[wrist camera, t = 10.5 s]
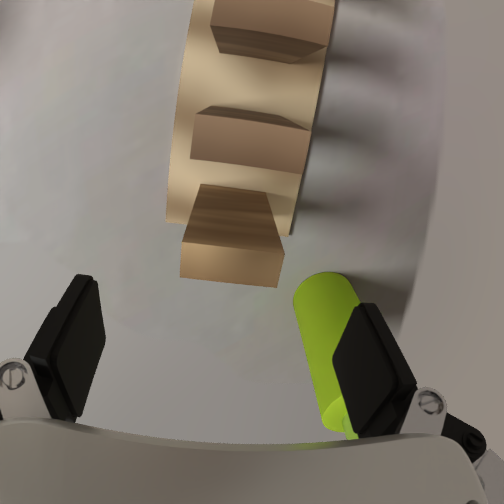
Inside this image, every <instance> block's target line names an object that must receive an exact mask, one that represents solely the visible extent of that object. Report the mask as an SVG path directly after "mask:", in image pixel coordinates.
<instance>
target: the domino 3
mask: <svg viewBox="0 0 504 504" xmlns="http://www.w3.org/2000/svg"><path fill="white" fill-rule="evenodd" d="M284 255H285V253H284V250H283V247H282V243H281V240H280V237H279V233H278V230H277V227H276V224H275V220H274V217H273V214H272V211H271V208H270V204H269V201H268V198H267V195H266V192H261V191H254V190H246V189H239V188H231V187H223V186H215V185H207V184H200V187H199V190H198V193H197V196H196V199H195V202H194V205H193V208H192V211H191V215H190V218H189V221H188V224H187V227H186V230H185V234H184V237H183V240H182V249H181V265H180V277H182V278H191V279H199V280H208V281H217V282H226V283H235V284H244V285H254V286H264V287H274V288H277V285H278V280H279V276H280V272H281V268H282V264H283V259H284Z"/></svg>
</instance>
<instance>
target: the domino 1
mask: <svg viewBox="0 0 504 504" xmlns="http://www.w3.org/2000/svg"><path fill="white" fill-rule="evenodd" d="M334 9H335V7H333V6H329V5H325V4H322V3H318V2H314V1H310V0H215V2H214V7H213V12H212V17H211V22H210V27H211V30H212V33H213V36H214V39H215V41H216V44H217V47H218V50H219V53H222V54H231V55H238V56H245V57H252V58H259V59H265V60H270V61H276V62H281V63H286V64H291V63H293V62H295V61H297V60H299V59H301V58H303V57H305V56H307V55H309V54H312V53H314V52H316V51H318V50H320V49H323V48H325V47H327V46H328V44H329V38H330V32H331V26H332V21H333V15H334Z"/></svg>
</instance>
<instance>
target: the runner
mask: <svg viewBox="0 0 504 504" xmlns="http://www.w3.org/2000/svg"><path fill="white" fill-rule="evenodd" d="M310 1H314V2H318V3H322V4H325V5H329V6H333V7H334V4H335V0H310ZM214 2H215V0H194V4H193V9H192V14H191V19H190V24H189V29H188V35H187V40H186V46H185V52H184V58H183V64H182V70H181V77H180V83H179V90H178V97H177V105H176V113H175V121H174V129H173V138H172V148H171V158H170V169H169V180H168V193H167V208H166V222H170V223H179V224H188V221H189V218H190V215H191V211H192V208H193V205H194V202H195V199H196V196H197V193H198V190H199V187H200V184H207V185H215V186H223V187H231V188H239V189H246V190H254V191H261V192H266V195H267V198H268V201H269V204H270V208H271V211H272V214H273V217H274V220H275V224H276V227H277V230H278V233H279V236H285V237H288V235H289V231H290V227H291V222H292V218H293V213H294V209H295V204H296V200H297V195H298V191H299V186H300V181H301V177H302V175H301V174H295V173H289V172H283V171H276V170H270V169H263V168H257V167H250V166H243V165H235V164H228V163H220V162H212V161H203V160H194V159H190V152H191V144H192V135H193V128H194V120H195V114H196V113H198V112H200V111H202V110H203V109H205V108H207V107H209V106H220V107H228V108H236V109H243V110H250V111H256V112H262V113H268V114H274V115H280V116H282V117H284V118H286V119H288V120H290V121H292V122H294V123H296V124H298V125H300V126H302V127H304V128H306V129H307V130H309V131H311V129H312V124H313V119H314V114H315V109H316V104H317V99H318V93H319V88H320V83H321V78H322V72H323V67H324V62H325V56H326V51H327V47H325V48H323V49H320V50H318V51H316V52H314V53H312V54H309V55H307V56H305V57H303V58H301V59H299V60H297V61H295V62H293V63H291V64H286V63H281V62H276V61H270V60H265V59H259V58H252V57H245V56H238V55H231V54H222V53H219V50H218V47H217V44H216V41H215V39H214V36H213V33H212V30H211V27H210V22H211V17H212V12H213V7H214Z"/></svg>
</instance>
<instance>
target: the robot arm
mask: <svg viewBox="0 0 504 504" xmlns="http://www.w3.org/2000/svg"><path fill="white" fill-rule="evenodd" d="M105 339H106V335H105V329H104V324H103V317H102V311H101V304H100V297H99V290H98V283H97V281H95V280H93V277H92V276H89V275H82V274H76V276H75V277H74V279H73V280H72V282H71V283H70V285H69V287H68V288H67V290H66V292H65V293H64V295H63V297H62V298H61V300H60V301H59V303H58V305H57V307H53V308H52V309H51V310H50V312H49V314H48V315H47V317H46V318H45V320H44V322H43V324H42V325H41V328H40V329H39V331H38V333H37V334H36V336H35V338H34V340H33V342H32V344H31V345H30V347H29V349H28V351H27V353H26V355H25V357H24V359H23V360H22V359H20V358H10V359H6V360H4V361H2V362H1V363H0V504H504V461H503V460H501V458H500V457H499V456H498V455H496V454H495V453H494V452H493V451H492V450H491V449H489V450H488V451H487V450H486V440H485V438H484V436H483V435H482V434H481V432H480V431H478V430H477V429H475V428H474V427H472V426H470V425H468V424H466V423H464V422H463V421H461V420H459V419H457V418H456V417H454V416H452V415H450V414H449V413H447V404H446V400H445V399H444V397H443V396H442V395H441V394H440V393H439V392H438V391H436V390H435V389H432V388H428V387H423V388H420V389H418V388H417V386H416V384H417V382H416V379H415V377H414V376H413V373H412V372H411V369H410V367H409V366H408V364H407V362H406V360H405V358H404V356H403V354H402V352H401V350H400V348H399V346H398V344H397V342H396V340H395V339H394V337H393V335H392V333H391V331H390V329H389V327H388V326H387V324H386V322H385V320H384V318H383V316H382V315H381V313H380V311H379V309H378V307H377V306H376V304H374V303H360V304H359V305H358V306H355V307H354V309H353V311H352V313H351V316H350V318H349V320H348V323H347V325H346V327H345V329H344V332H343V334H342V336H341V338H340V341H339V343H338V345H337V347H336V349H335V351H334V353H333V356H332V364H333V367H334V371H335V374H336V377H337V380H338V383H339V386H340V390H341V393H342V396H343V399H344V403H345V406H346V409H347V413H348V416H349V419H350V423H351V426H352V429H353V432H354V433H355V434H357V435H358V438H359V439H351V440H341V441H331V442H318V443H299V444H225V443H208V442H195V441H183V440H174V439H164V438H157V437H150V436H143V435H136V434H130V433H124V432H118V431H113V430H106V429H102V428H97V427H91V426H87V425H82V424H78V423H75V422H76V418H77V417H80V416H81V415H82V413H83V410H84V406H85V403H86V400H87V397H88V393H89V390H90V387H91V384H92V381H93V378H94V374H95V372H96V369H97V365H98V363H99V360H100V357H101V354H102V351H103V348H104V345H105Z"/></svg>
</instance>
